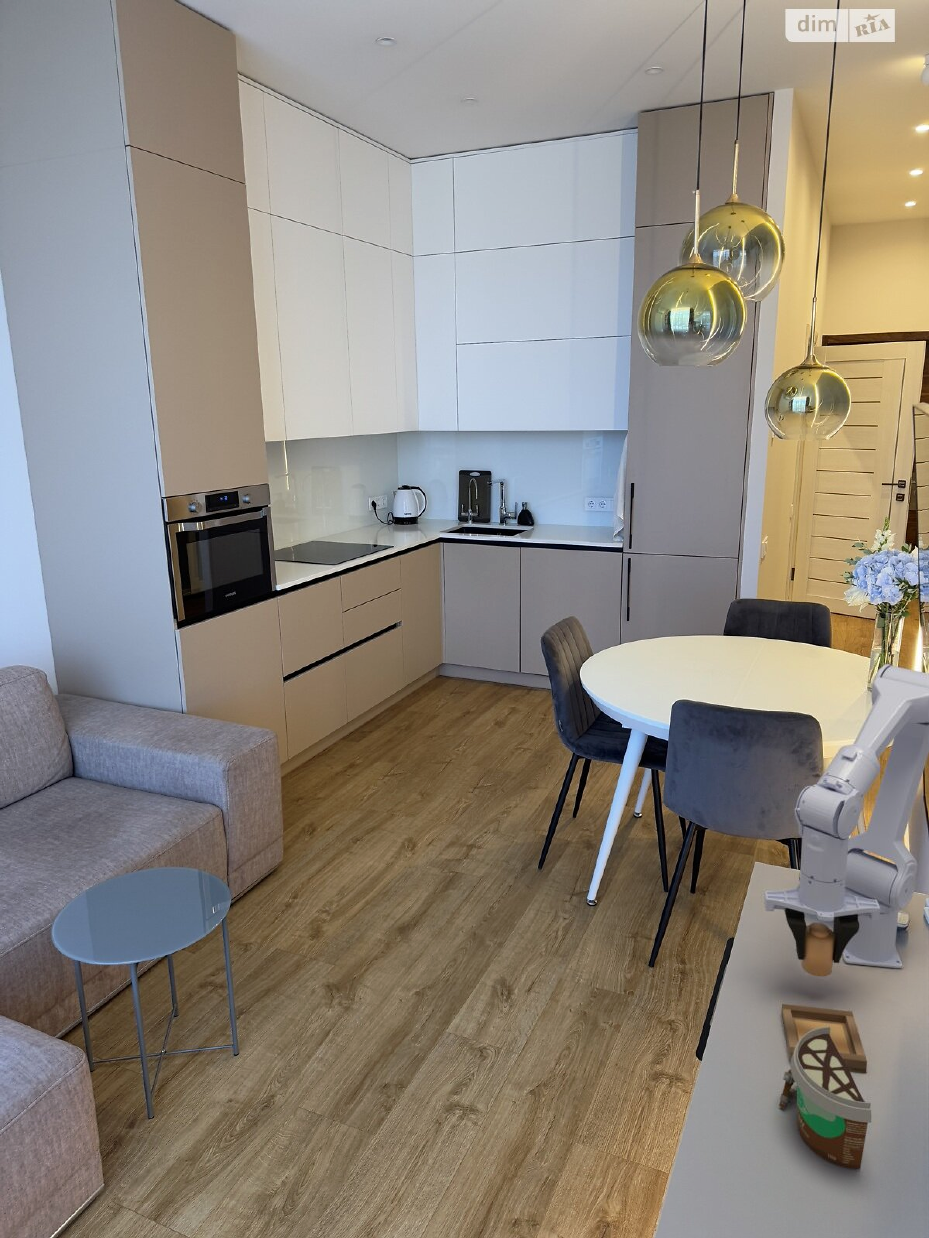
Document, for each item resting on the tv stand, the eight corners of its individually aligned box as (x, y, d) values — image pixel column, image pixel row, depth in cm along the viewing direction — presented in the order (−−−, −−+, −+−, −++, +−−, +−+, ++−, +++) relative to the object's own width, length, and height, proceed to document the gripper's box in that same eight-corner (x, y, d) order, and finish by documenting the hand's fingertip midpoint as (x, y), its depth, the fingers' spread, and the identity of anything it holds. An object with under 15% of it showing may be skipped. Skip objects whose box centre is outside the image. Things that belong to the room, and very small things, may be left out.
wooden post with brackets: (771, 1104, 102) (780, 1067, 102) (799, 1091, 108) (807, 1057, 108) (785, 1112, 101) (794, 1075, 101) (813, 1099, 106) (821, 1064, 106)
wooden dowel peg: (799, 956, 122) (801, 918, 120) (829, 959, 121) (832, 920, 119) (803, 974, 118) (806, 935, 116) (834, 977, 117) (837, 938, 115)
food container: (772, 1092, 105) (776, 1024, 102) (823, 1091, 105) (828, 1023, 102) (808, 1181, 93) (814, 1107, 90) (865, 1181, 93) (872, 1106, 90)
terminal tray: (781, 1014, 117) (781, 1003, 117) (851, 1022, 115) (852, 1011, 115) (790, 1063, 109) (791, 1052, 108) (866, 1073, 107) (867, 1061, 106)
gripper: (770, 883, 113) (766, 970, 117) (888, 892, 110) (880, 981, 113) (764, 855, 120) (760, 938, 123) (875, 862, 116) (868, 947, 120)
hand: (817, 956), depth 119 cm, fingers closed on wooden dowel peg, 4 cm apart
